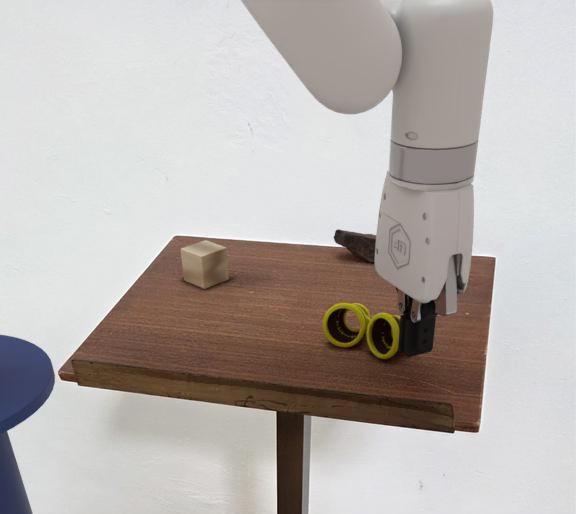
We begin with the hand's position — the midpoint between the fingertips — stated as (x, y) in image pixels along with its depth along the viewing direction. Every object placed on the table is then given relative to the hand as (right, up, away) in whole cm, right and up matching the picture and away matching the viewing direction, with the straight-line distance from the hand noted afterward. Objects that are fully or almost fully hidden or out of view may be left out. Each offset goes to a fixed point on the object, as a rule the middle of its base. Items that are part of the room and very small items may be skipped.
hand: (415, 351), depth 77 cm
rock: (-1, +19, +29) cm, 35 cm away
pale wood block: (-24, +15, +24) cm, 37 cm away
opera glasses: (-4, +2, +8) cm, 10 cm away
